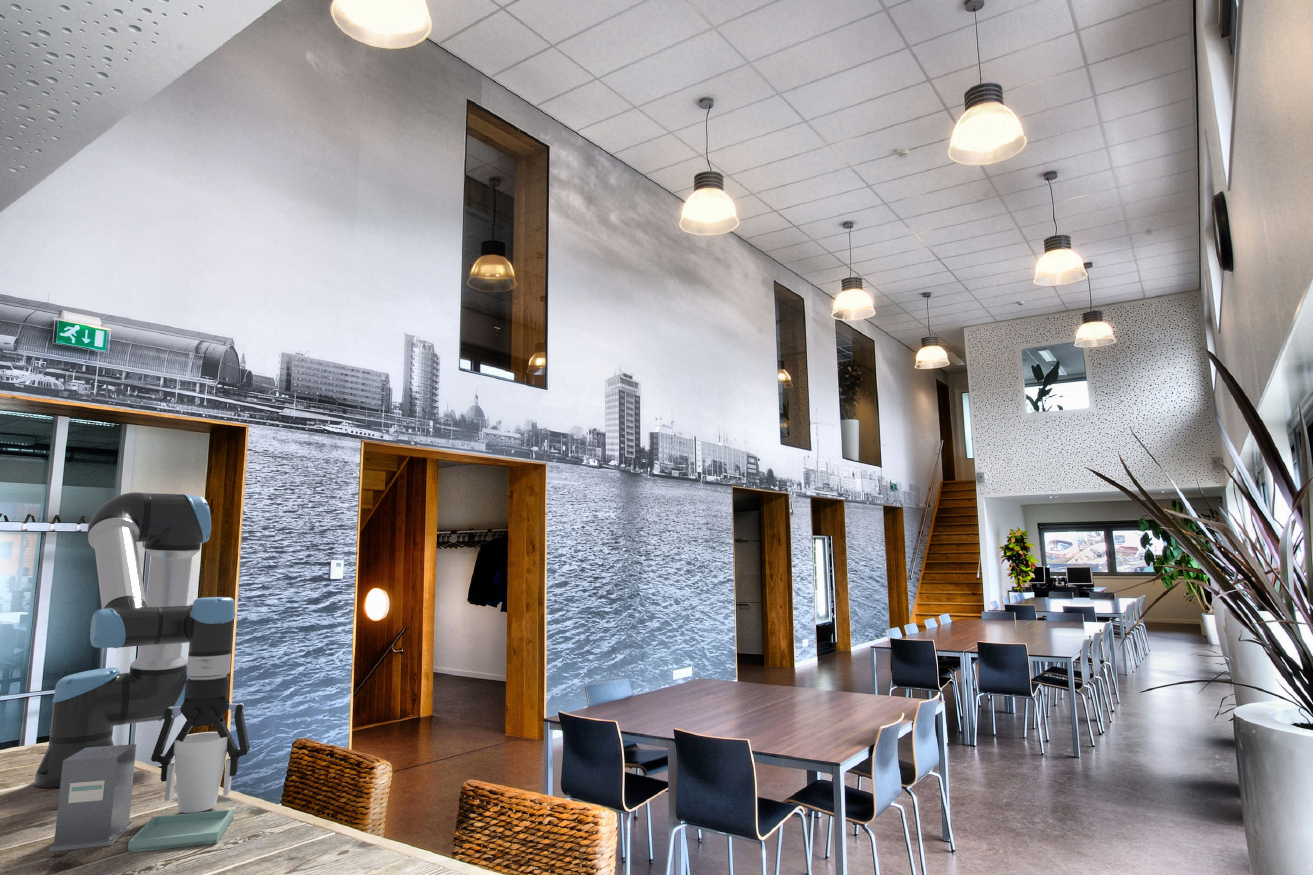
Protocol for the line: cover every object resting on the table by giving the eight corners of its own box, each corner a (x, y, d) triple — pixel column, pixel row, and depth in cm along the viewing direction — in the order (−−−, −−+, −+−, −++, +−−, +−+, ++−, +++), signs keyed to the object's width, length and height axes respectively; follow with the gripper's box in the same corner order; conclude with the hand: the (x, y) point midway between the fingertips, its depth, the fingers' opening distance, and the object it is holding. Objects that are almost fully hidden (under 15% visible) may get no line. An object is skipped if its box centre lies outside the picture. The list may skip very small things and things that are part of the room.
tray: (152, 827, 140) (153, 816, 140) (233, 819, 144) (233, 808, 144) (127, 852, 128) (128, 841, 128) (216, 843, 132) (217, 831, 132)
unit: (75, 830, 139) (83, 747, 141) (132, 824, 142) (140, 743, 144) (48, 851, 129) (58, 761, 131) (111, 845, 131) (119, 756, 134)
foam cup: (157, 811, 147) (163, 740, 149) (200, 797, 155) (206, 730, 157) (193, 817, 143) (199, 744, 145) (235, 802, 152) (241, 733, 154)
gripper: (138, 682, 146) (125, 807, 143) (265, 676, 153) (257, 796, 149) (150, 676, 153) (139, 795, 150) (272, 671, 160) (263, 785, 156)
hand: (198, 795), depth 150 cm, fingers closed on foam cup, 9 cm apart
